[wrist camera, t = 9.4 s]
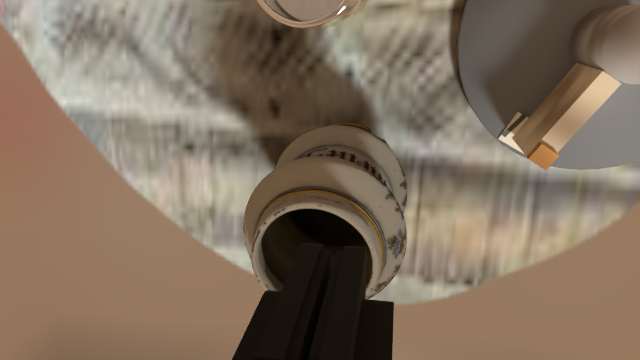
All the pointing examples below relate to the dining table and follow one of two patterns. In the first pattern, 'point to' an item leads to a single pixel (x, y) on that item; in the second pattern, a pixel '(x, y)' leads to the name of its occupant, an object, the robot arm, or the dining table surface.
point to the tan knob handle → (585, 80)
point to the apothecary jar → (329, 205)
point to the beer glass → (311, 11)
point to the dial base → (540, 76)
